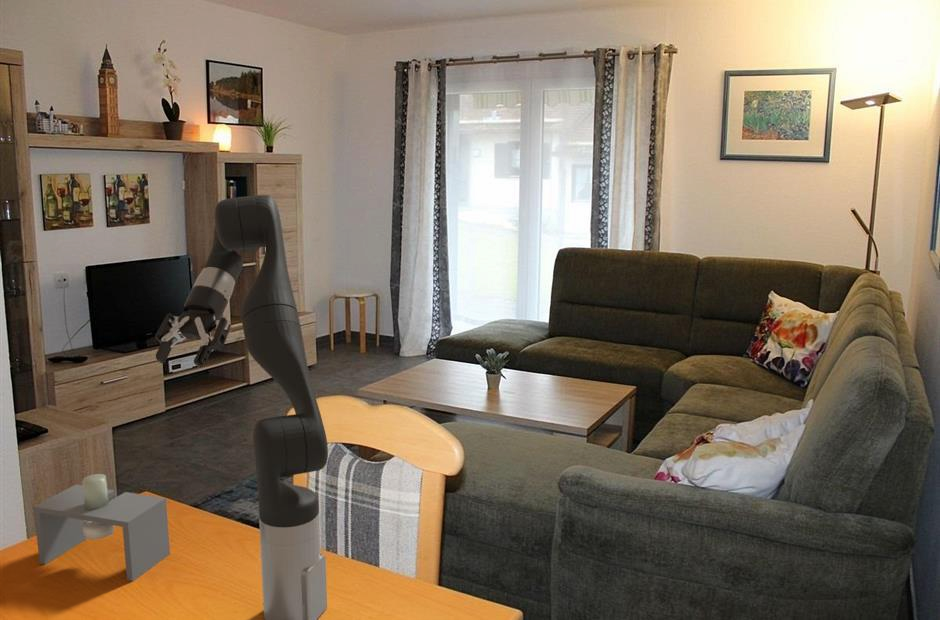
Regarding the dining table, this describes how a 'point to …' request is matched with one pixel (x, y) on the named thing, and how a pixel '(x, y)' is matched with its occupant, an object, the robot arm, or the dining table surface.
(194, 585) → the dining table surface
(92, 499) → the wine glass
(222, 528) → the dining table surface
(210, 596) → the dining table surface
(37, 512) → the slotted rack
